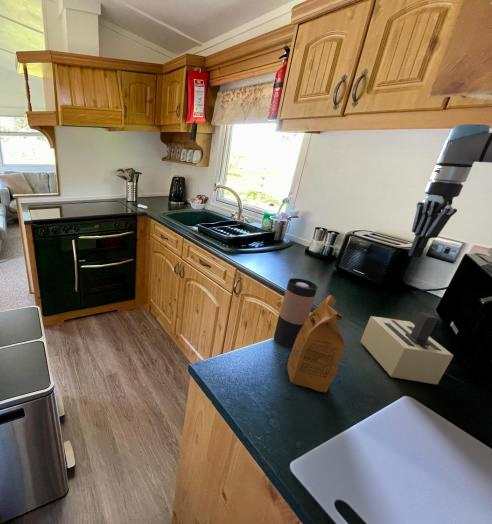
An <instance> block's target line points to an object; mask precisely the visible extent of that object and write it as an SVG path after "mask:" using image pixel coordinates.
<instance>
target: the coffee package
mask: <svg viewBox="0 0 492 524" xmlns="http://www.w3.org/2000/svg"><path fill="white" fill-rule="evenodd" d="M336 302H337V300H336V299H335V296H333V295H331V294H330V295H328V296H327V297H325V299H324V300H323V301H322V302H320V303H319V305H318V306H317V307H316V308H315V309H313V311H311V312H310V314H309V317H308V318H307V320H306V322H305V324H304V325H303V327H302V328H301V330H300V331H299V333H298V335H297V338H296V340H295V343H294V345H293V348H291V351H290V354H289V357H288V361H287V364H286V365H287V366H286V367H287V373H288V377H289V378H288V379H289V382H290V383H292V384H293V385H296V386H299V387H304V388H309V389H312V390H314V391H316V392H319V393H321V392H322V393H328V390H329V388H330V385H331V384H332V382H333V380H334V379H335V377H336V376H337V373H338V367H339V364H340V362H341V359H342V357H343V353H344V350H345V347H346V344H345V341H344V337H343V335H342V333H341V330H340V328H339V325H338V321H342V320H343V316H342V314H340V313H339V312H338V311H336V310H335V309H333V307H334V305H335V304H336ZM337 320H338V321H337Z"/></svg>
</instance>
